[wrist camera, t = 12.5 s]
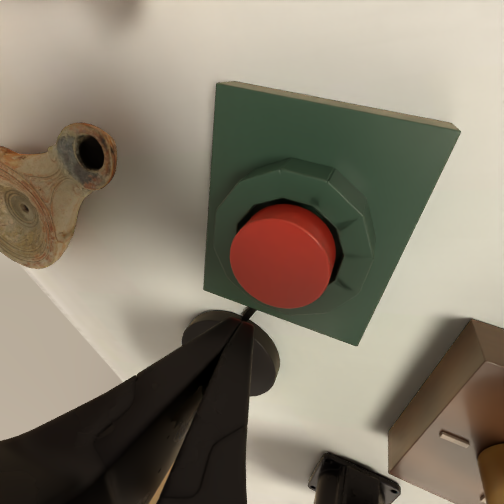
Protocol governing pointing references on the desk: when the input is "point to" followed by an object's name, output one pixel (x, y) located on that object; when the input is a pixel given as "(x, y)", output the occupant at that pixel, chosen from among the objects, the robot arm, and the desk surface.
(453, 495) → the dimmer panel
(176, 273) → the desk surface
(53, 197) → the oil lamp
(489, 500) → the dimmer knob
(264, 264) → the button
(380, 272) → the switch block
